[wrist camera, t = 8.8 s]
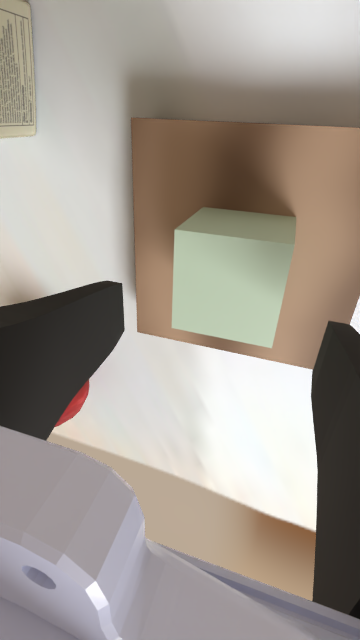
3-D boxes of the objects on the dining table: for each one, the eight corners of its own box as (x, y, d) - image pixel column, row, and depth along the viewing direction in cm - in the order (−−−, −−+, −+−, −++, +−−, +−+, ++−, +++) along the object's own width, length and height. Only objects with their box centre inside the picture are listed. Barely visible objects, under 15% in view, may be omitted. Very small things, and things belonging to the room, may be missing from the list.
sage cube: (296, 217, 16) (294, 244, 12) (278, 302, 18) (271, 348, 14) (203, 207, 17) (174, 229, 13) (197, 288, 19) (171, 327, 15)
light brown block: (401, 130, 15) (417, 130, 13) (329, 349, 21) (332, 373, 19) (150, 119, 18) (131, 117, 16) (151, 314, 24) (137, 332, 22)
